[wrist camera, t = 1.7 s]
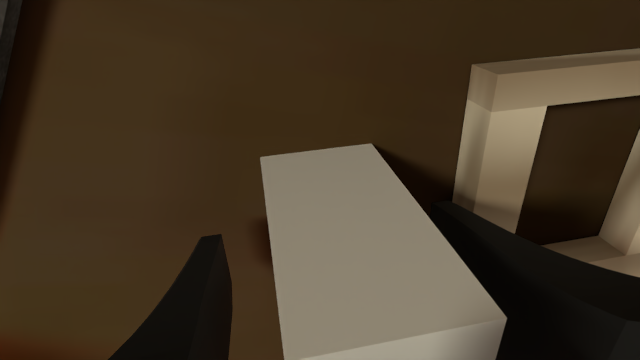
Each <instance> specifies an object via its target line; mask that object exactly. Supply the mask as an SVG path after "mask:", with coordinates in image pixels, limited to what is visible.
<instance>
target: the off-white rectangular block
mask: <svg viewBox="0 0 640 360" xmlns="http://www.w3.org/2000/svg"><path fill="white" fill-rule="evenodd" d="M260 160H261V169H262V177H263V185H264V194H265V202H266V210H267V219H268V227H269V235H270V244H271V252H272V260H273V269H274V277H275V285H276V294H277V302H278V310H279V319H280V327H281V335H282V344H283V352H284V360H495V359H496V356H497V352H498V349H499V345H500V341H501V338H502V334H503V331H504V327H505V324H506V320H507V317H506V316H505V315H504V313H503V312H502V311H501V309H500V308H499V307H498V306H497V304H496V303H495V302H494V300H493V299H492V298H491V297H490V295H489V294H488V293H487V291H486V290H485V289H484V288H483V286H482V285H481V284H480V282H479V281H478V280H477V279H476V277H475V276H474V275H473V273H472V272H471V271H470V270H469V268H468V267H467V266H466V264H465V263H464V262H463V261H462V259H461V258H460V257H459V255H458V254H457V253H456V252H455V250H454V249H453V248H452V246H451V245H450V244H449V243H448V241H447V240H446V239H445V237H444V236H443V235H442V234H441V232H440V231H439V230H438V228H437V227H436V226H435V225H434V223H433V222H432V221H431V219H430V218H429V217H428V216H427V214H426V213H425V212H424V210H423V209H422V208H421V207H420V205H419V204H418V203H417V201H416V200H415V199H414V198H413V196H412V195H411V194H410V192H409V191H408V190H407V189H406V187H405V186H404V185H403V184H402V182H401V181H400V180H399V178H398V177H397V176H396V175H395V173H394V172H393V171H392V169H391V168H390V167H389V166H388V164H387V163H386V162H385V160H384V159H383V158H382V157H381V155H380V154H379V153H378V151H377V150H376V149H375V148H374V146H373V145H372V144H363V145H355V146H347V147H339V148H331V149H323V150H314V151H306V152H298V153H290V154H282V155H274V156H266V157H260Z"/></svg>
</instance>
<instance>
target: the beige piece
mask: <svg viewBox="0 0 640 360" xmlns="http://www.w3.org/2000/svg"><path fill="white" fill-rule="evenodd" d="M636 95H640V48H639V49H628V50H618V51H607V52H597V53H587V54H576V55H566V56H555V57H545V58H534V59H524V60H514V61H503V62H493V63H482V64H472V69H471V76H470V83H469V90H468V96H467V103H466V110H465V117H464V124H463V131H462V138H461V145H460V151H459V158H458V165H457V172H456V179H455V186H454V193H453V200H452V202H453V203H455V204H457V205H459V206H461V207H463V208H465V209H467V210H469V211H471V212H473V213H475V214H477V215H478V216H480V217H482V218H484V219H486V220H488V221H490V222H492V223H494V224H496V225H498V226H500V227H502V228H504V229H506V230H508V231H510V232H512V233H514V234H515V231H516V227H517V223H518V219H519V215H520V211H521V207H522V203H523V199H524V195H525V192H526V188H527V184H528V180H529V176H530V172H531V168H532V164H533V160H534V156H535V152H536V148H537V144H538V140H539V136H540V132H541V128H542V124H543V121H544V117H545V113H546V109H547V106H550V105H559V104H567V103H576V102H584V101H593V100H602V99H610V98H619V97H628V96H636ZM541 246H543V247H545V248H548V249H550V250H553V251H555V252H558V253H561V254H563V255H566V256H569V257H571V258H574V259H577V260H580V261H583V262H586V263H590V264H593V265H596V266H599V267H603V268H606V269H609V270H613V271H617V272H620V273H624V274H628V275H632V276H636V277H640V130H639V132H638V135H637V137H636V140H635V142H634V145H633V148H632V150H631V153H630V155H629V158H628V160H627V163H626V166H625V168H624V171H623V173H622V176H621V178H620V181H619V184H618V186H617V189H616V191H615V194H614V197H613V199H612V202H611V204H610V207H609V209H608V212H607V215H606V217H605V220H604V222H603V225H602V227H601V230H600V233H599V235H598V236H593V237H587V238H582V239H576V240H570V241H564V242H559V243H553V244H547V245H541Z"/></svg>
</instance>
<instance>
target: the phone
mask: <svg viewBox="0 0 640 360" xmlns="http://www.w3.org/2000/svg"><path fill="white" fill-rule="evenodd" d="M21 5H22V0H0V104H1V99H2V94H3V90H4V85H5V80H6V75H7V71H8V66H9V61H10V57H11V52H12V47H13V43H14V38H15V33H16V29H17V24H18V19H19V14H20V10H21Z"/></svg>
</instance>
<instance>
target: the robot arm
mask: <svg viewBox="0 0 640 360" xmlns="http://www.w3.org/2000/svg"><path fill="white" fill-rule="evenodd" d="M430 219H431V221H432V222H433V223H434V225H435V226H436V227H437V228H438V230H439V231H440V232H441V234H442V235H443V236H444V237H445V239H446V240H447V241H448V243H449V244H450V245H451V246H452V248H453V249H454V250H455V252H456V253H457V254H458V255H459V257H460V258H461V259H462V261H463V262H464V263H465V264H466V266H467V267H468V268H469V270H470V271H471V272H472V273H473V275H474V276H475V277H476V279H477V280H478V281H479V282H480V284H481V285H482V286H483V288H484V289H485V290H486V291H487V293H488V294H489V295H490V297H491V298H492V299H493V300H494V302H495V303H496V304H497V306H498V307H499V308H500V309H501V311H502V312H503V313H504V315H505V316H506V317H507V320H506V324H505V327H504V331H503V334H502V338H501V341H500V345H499V349H498V352H497V356H496V359H495V360H640V277H636V276H632V275H628V274H624V273H620V272H617V271H613V270H609V269H606V268H603V267H599V266H596V265H593V264H590V263H586V262H583V261H580V260H577V259H574V258H571V257H569V256H566V255H563V254H561V253H558V252H555V251H553V250H550V249H548V248H545V247H543V246H540V245H538V244H536V243H533V242H531V241H529V240H527V239H525V238H522V237H520V236H518V235H516V234H514V233H512V232H510V231H508V230H506V229H504V228H502V227H500V226H498V225H496V224H494V223H492V222H490V221H488V220H486V219H484V218H482V217H480V216H478V215H477V214H475V213H473V212H471V211H469V210H467V209H465V208H463V207H461V206H459V205H457V204H455V203H453V202H451V201H448V200H447V201H440V202H434V203H432V205H431V213H430ZM231 321H232V281H231V277H230V272H229V267H228V263H227V258H226V254H225V249H224V244H223V240H222V235H221V234H218V235H212V236H205V237H201V239H200V240H199V241H198V243H197V245H196V247H195V249H194V250H193V252H192V254H191V256H190V257H189V259H188V261H187V262H186V264H185V266H184V267H183V269H182V270H181V272H180V273H179V275H178V277H177V278H176V280H175V281H174V283H173V284H172V286H171V287H170V289H169V290H168V291H167V293H166V294H165V295H164V297H163V298H162V299H161V301H160V302H159V304H158V305H157V306H156V308H155V309H154V310H153V311H152V313H151V314H150V315H149V316H148V317H147V319H146V320H145V321H144V322H143V323H142V325H141V326H140V327H139V328H138V329H137V330H136V331H135V333H134V334H133V335H132V336H131V337H130V338H129V339H128V340H127V341H126V342H125V343H124V344H123V345H122V346H121V347H120V348H119V349H118V350H117V351H116V352H115V353H114V354H113V355H112V356H111V357H110V358H109V359H108V360H228V355H229V344H230V333H231Z"/></svg>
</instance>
